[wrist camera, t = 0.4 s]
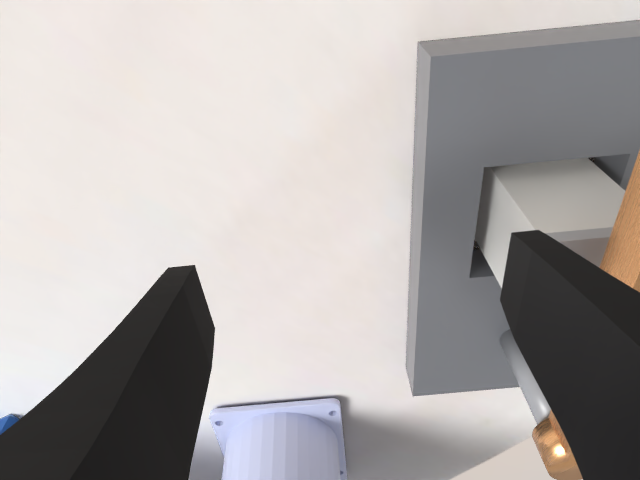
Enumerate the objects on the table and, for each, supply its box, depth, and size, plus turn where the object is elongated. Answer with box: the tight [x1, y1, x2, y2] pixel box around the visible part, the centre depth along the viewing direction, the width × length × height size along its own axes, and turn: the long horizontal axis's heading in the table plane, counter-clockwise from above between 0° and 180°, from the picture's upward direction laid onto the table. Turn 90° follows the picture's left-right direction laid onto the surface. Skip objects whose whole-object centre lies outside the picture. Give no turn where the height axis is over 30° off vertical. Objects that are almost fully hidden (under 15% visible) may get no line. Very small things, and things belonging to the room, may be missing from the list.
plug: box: [475, 158, 625, 289], centre depth 19 cm, size 4×4×6 cm
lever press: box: [406, 20, 640, 425], centre depth 19 cm, size 18×10×7 cm, turn 5°
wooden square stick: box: [532, 150, 640, 480], centre depth 15 cm, size 14×2×2 cm, turn 5°
